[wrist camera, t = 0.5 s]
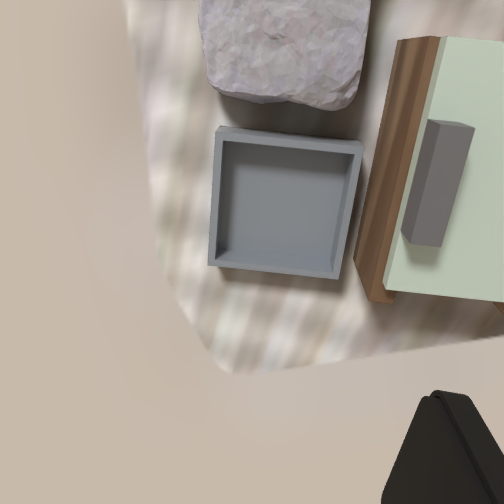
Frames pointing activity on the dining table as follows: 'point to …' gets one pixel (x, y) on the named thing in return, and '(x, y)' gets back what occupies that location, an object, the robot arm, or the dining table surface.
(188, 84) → the dining table surface
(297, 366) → the dining table surface
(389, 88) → the brown open box
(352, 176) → the gray tray
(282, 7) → the stone block
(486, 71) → the sliding lid
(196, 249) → the dining table surface
